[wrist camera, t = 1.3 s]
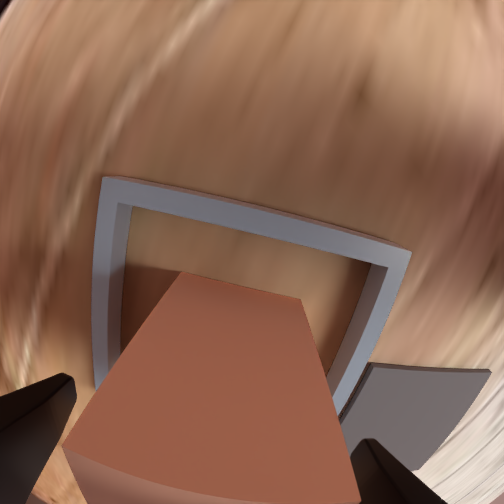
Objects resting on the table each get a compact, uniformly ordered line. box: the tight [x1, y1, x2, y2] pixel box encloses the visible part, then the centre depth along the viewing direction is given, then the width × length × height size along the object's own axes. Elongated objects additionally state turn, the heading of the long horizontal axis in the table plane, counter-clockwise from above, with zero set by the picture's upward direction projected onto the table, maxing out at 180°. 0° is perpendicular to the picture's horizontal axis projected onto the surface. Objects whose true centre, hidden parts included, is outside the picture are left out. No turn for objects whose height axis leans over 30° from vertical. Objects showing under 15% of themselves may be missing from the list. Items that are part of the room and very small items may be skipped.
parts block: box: [62, 272, 361, 504], centre depth 8 cm, size 5×5×9 cm
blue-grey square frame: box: [91, 176, 412, 416], centre depth 12 cm, size 12×12×2 cm
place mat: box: [339, 363, 492, 471], centre depth 14 cm, size 10×10×1 cm
